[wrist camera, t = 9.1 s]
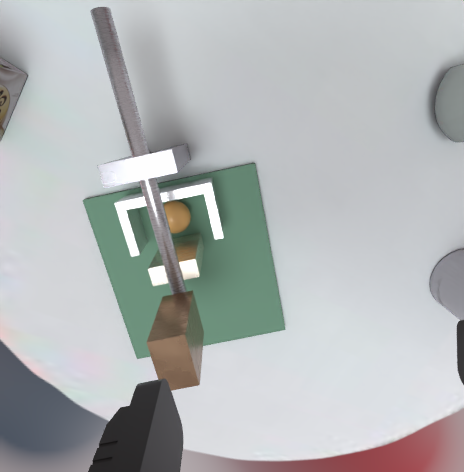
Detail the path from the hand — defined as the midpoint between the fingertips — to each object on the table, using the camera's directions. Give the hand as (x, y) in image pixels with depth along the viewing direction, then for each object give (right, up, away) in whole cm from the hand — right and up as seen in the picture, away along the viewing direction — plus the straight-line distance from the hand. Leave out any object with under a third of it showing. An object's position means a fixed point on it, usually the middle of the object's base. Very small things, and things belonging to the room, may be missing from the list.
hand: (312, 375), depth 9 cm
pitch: (-8, 0, +38) cm, 38 cm away
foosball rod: (-10, +11, +32) cm, 36 cm away
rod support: (-11, +14, +33) cm, 37 cm away
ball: (-9, +6, +32) cm, 34 cm away
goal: (-9, +7, +34) cm, 36 cm away
